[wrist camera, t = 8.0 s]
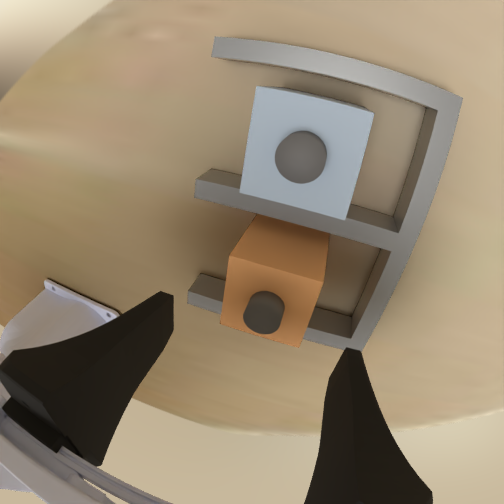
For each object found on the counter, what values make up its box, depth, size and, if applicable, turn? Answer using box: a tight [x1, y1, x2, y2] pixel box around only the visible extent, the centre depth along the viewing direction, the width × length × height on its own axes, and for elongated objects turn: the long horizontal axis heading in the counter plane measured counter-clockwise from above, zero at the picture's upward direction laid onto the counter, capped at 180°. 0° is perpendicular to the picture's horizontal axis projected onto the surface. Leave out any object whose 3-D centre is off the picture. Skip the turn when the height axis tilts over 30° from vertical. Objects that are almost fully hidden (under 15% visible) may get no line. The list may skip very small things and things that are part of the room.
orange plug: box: [220, 214, 330, 348], centre depth 16 cm, size 4×4×6 cm
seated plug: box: [239, 86, 374, 220], centre depth 12 cm, size 4×4×6 cm
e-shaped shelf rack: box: [187, 37, 463, 352], centre depth 15 cm, size 11×15×2 cm
